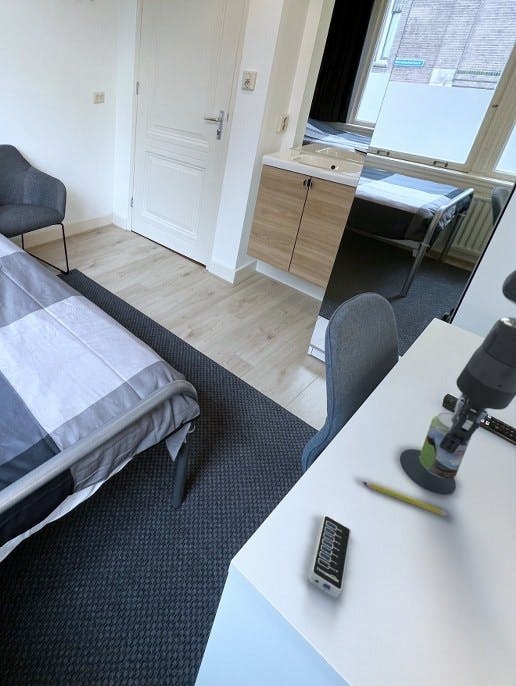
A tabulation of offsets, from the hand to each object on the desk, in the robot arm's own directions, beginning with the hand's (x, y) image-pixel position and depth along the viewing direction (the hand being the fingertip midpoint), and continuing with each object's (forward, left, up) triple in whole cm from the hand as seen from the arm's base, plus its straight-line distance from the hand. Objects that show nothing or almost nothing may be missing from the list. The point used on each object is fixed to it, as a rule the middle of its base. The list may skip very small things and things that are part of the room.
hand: (449, 438), depth 80 cm
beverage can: (0, 0, -8) cm, 8 cm away
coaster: (0, 0, -10) cm, 10 cm away
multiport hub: (+8, +31, -10) cm, 34 cm away
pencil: (+2, +11, -10) cm, 15 cm away
